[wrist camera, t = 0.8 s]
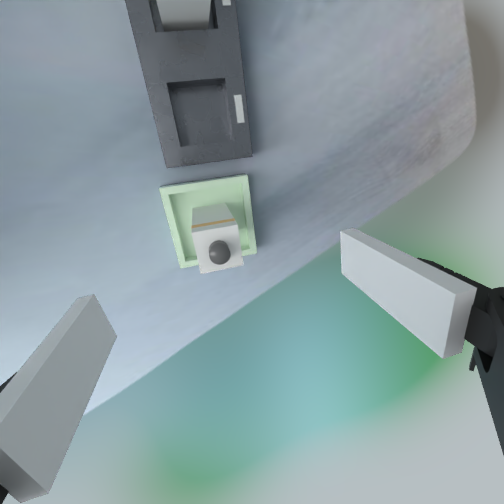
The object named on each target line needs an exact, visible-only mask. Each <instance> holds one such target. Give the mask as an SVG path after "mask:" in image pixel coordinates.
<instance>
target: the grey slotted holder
mask: <svg viewBox="0 0 504 504" xmlns="http://www.w3.org/2000/svg"><path fill="white" fill-rule="evenodd" d="M125 2H126V6H127V10H128V14H129V18H130V22H131V26H132V30H133V34H134V38H135V42H136V46H137V50H138V54H139V58H140V63H141V67H142V71H143V75H144V79H145V83H146V87H147V91H148V95H149V99H150V103H151V107H152V111H153V115H154V119H155V123H156V127H157V131H158V135H159V139H160V143H161V147H162V151H163V155H164V159H165V163H166V167H167V168H172V167H180V166H187V165H194V164H201V163H209V162H216V161H223V160H230V159H238V158H245V157H252V147H251V138H250V129H249V120H248V111H247V102H246V93H245V84H244V75H243V66H242V57H241V47H240V38H239V29H238V20H237V11H236V2H235V0H211V4H210V14H209V23H208V29H205V30H188V31H170V32H164V29H163V25H162V21H161V17H160V13H159V9H158V5H157V1H156V0H125Z"/></svg>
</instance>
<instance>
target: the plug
mask: <svg viewBox="0 0 504 504" xmlns="http://www.w3.org/2000/svg"><path fill="white" fill-rule="evenodd" d="M191 234H192V238H193V242H194V247H195V251H196V255H197V260H198V264H199V268H200V272H201V274H204V273H209V272H213V271H218V270H223V269H228V268H233V267H238V266H243V265H244V264H243V257H242V251H241V244H240V237H239V231H238V224H237V223H236V221H235V219H234V218H233V216H232V214H231V212H230V211H229V209H228V207H227V205H226V204H225V203H220V204H214V205H208V206H202V207H196V208H192V226H191Z"/></svg>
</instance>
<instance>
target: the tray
mask: <svg viewBox="0 0 504 504" xmlns="http://www.w3.org/2000/svg"><path fill="white" fill-rule="evenodd" d="M159 191H160V194H161V198H162V202H163V205H164V209H165V213H166V217H167V220H168V224H169V228H170V231H171V235H172V239H173V243H174V246H175V250H176V254H177V257H178V261H179V265H180V269H181V268H186V267H191V266H196V265H199V264H198V260H197V255H196V251H195V247H194V242H193V238H192V234H191V226H192V208H196V207H202V206H208V205H214V204H220V203H225V204H226V205H227V207H228V209H229V211H230V212H231V214H232V216H233V218H234V219H235V221H236V223H237V224H238V231H239V237H240V244H241V251H242V256H246V255H251V254H256V253H257V249H256V240H255V232H254V224H253V216H252V207H251V199H250V191H249V183H248V175H246V174H240V175H233V176H226V177H219V178H213V179H206V180H199V181H192V182H186V183H179V184H172V185H165V186H161V187H160V188H159Z"/></svg>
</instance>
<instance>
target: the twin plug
mask: <svg viewBox="0 0 504 504" xmlns="http://www.w3.org/2000/svg"><path fill="white" fill-rule="evenodd" d="M156 1H157V5H158V9H159V13H160V17H161V21H162V25H163V29H164V32H170V31H188V30H205V29H208V23H209V14H210V4H211V0H156Z"/></svg>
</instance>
